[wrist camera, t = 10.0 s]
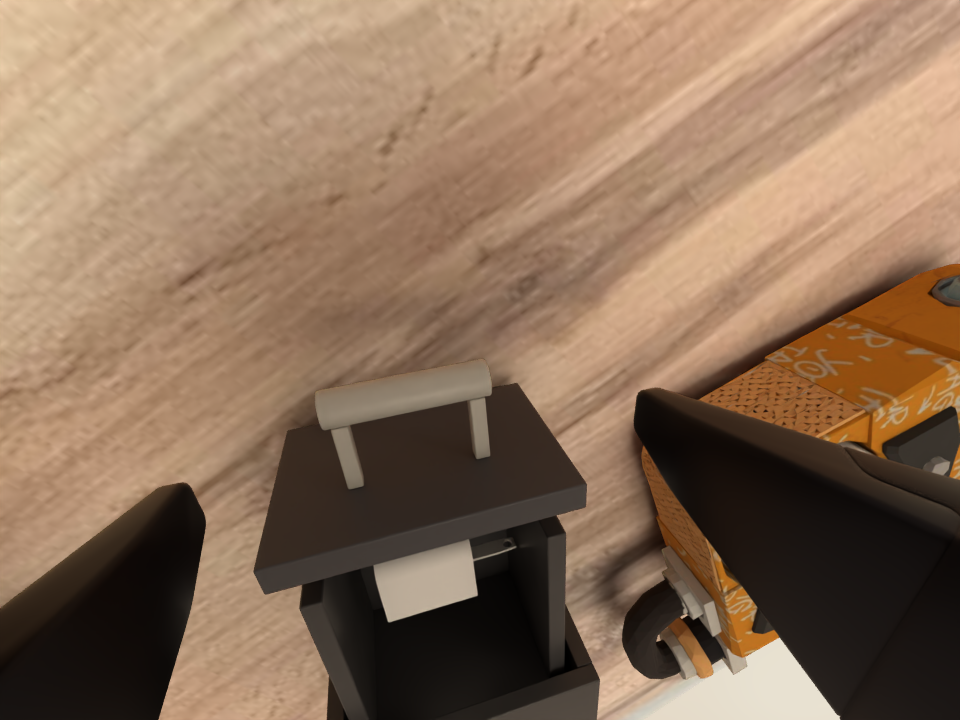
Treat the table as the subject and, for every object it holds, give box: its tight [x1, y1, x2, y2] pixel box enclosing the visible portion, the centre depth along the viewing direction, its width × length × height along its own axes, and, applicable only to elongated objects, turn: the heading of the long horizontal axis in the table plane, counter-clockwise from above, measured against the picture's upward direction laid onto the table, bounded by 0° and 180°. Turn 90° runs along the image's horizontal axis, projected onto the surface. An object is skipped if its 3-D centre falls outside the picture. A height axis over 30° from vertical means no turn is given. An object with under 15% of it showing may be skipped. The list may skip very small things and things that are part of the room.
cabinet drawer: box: [253, 359, 587, 720], centre depth 20 cm, size 18×11×8 cm, turn 5°
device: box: [622, 264, 960, 680], centre depth 28 cm, size 23×8×30 cm
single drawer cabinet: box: [327, 604, 600, 720], centre depth 27 cm, size 15×13×10 cm
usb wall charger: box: [373, 537, 516, 622], centre depth 22 cm, size 4×7×4 cm, turn 95°
